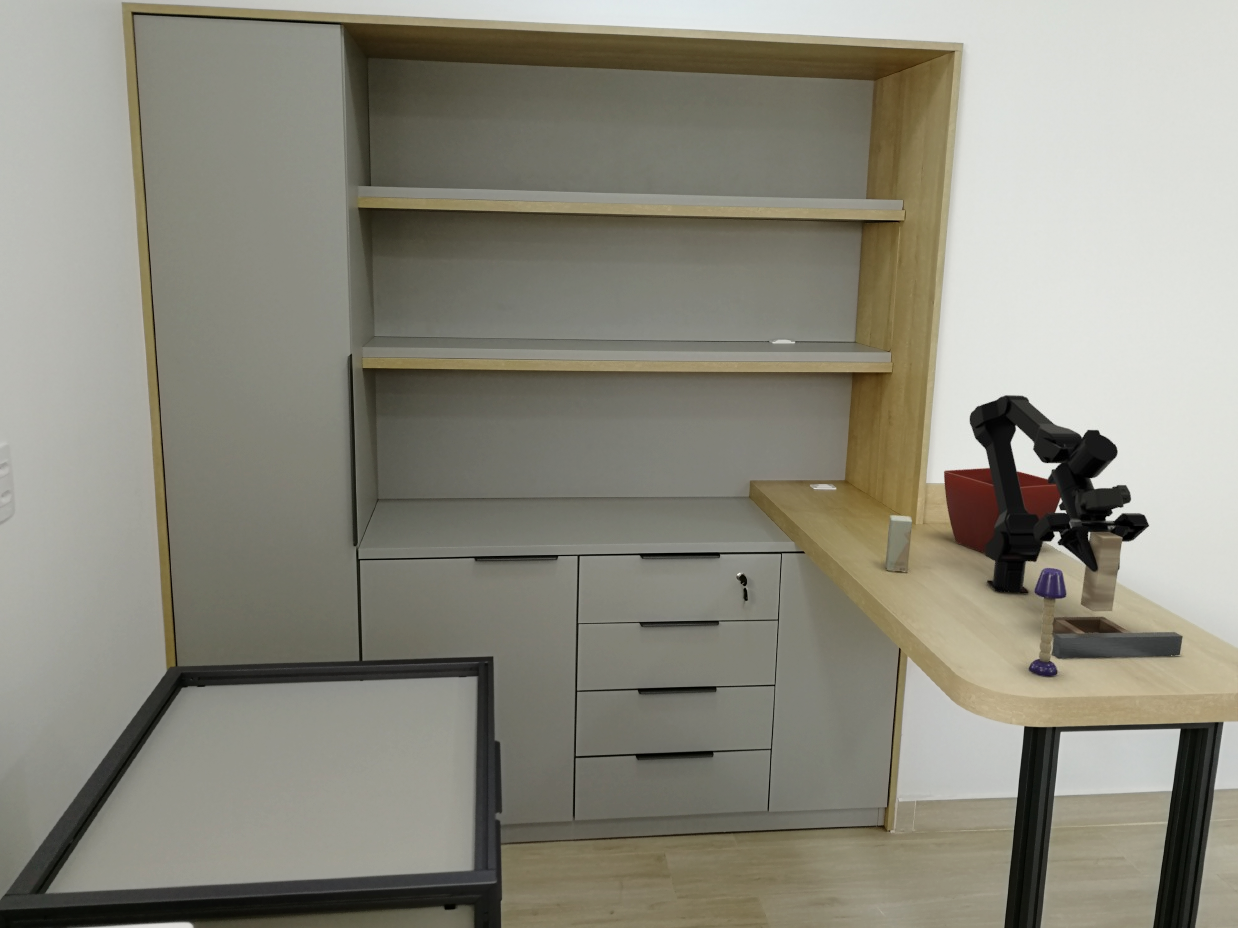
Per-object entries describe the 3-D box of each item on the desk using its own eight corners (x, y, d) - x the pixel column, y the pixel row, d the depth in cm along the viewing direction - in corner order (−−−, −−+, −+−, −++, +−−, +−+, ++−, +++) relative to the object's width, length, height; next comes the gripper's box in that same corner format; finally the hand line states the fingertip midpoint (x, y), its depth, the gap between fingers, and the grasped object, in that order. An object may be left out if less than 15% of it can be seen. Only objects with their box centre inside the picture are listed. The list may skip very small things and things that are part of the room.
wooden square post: (1080, 604, 179) (1090, 531, 176) (1099, 604, 179) (1109, 532, 177) (1092, 611, 175) (1102, 537, 173) (1112, 611, 176) (1122, 537, 173)
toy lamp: (1024, 672, 162) (1036, 571, 159) (1025, 663, 166) (1037, 563, 163) (1057, 678, 160) (1070, 576, 157) (1057, 668, 165) (1070, 568, 161)
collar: (1049, 630, 182) (1051, 617, 182) (1101, 629, 184) (1102, 616, 183) (1082, 651, 173) (1084, 637, 172) (1136, 650, 174) (1138, 636, 174)
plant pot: (1058, 555, 233) (1067, 483, 230) (996, 563, 224) (1005, 488, 221) (994, 534, 250) (1002, 466, 246) (934, 541, 241) (941, 470, 238)
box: (907, 573, 214) (912, 521, 212) (886, 571, 215) (891, 519, 213) (905, 566, 219) (910, 515, 217) (885, 564, 220) (889, 514, 218)
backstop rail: (1051, 653, 171) (1054, 633, 170) (1171, 651, 174) (1174, 631, 174) (1058, 658, 169) (1061, 638, 168) (1179, 655, 172) (1182, 636, 172)
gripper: (1050, 467, 175) (1079, 547, 166) (1150, 468, 178) (1183, 547, 169) (1020, 501, 184) (1046, 579, 176) (1115, 501, 187) (1146, 578, 179)
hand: (1106, 570), depth 175 cm, fingers closed on wooden square post, 4 cm apart
